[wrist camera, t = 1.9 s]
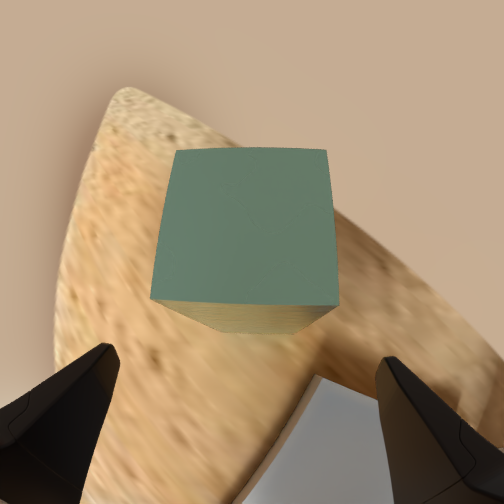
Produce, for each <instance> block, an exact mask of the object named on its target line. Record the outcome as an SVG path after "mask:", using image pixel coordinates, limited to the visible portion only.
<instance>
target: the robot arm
mask: <svg viewBox="0 0 504 504" xmlns="http://www.w3.org/2000/svg"><path fill="white" fill-rule="evenodd" d="M119 368H120V360H119V357H118V355H117V352H116V350H115V348H114V346H113V345H112V344H109V343H101V344H99V345H98V346H96V347H94V348H93V349H91V350H90V351H88V352H87V353H85V354H84V355H82V356H81V357H79V358H78V359H76V360H75V361H73V362H72V363H70V364H69V365H67V366H66V367H64V368H63V369H61V370H60V371H58V372H57V373H55V374H54V375H52V376H51V377H49V378H48V379H46V380H45V381H43V382H42V383H41V384H39V385H38V386H36V387H35V388H33V389H32V390H31V391H28V392H27V393H26V394H24V395H23V396H21V397H19V398H18V399H16V400H15V401H13V402H11V403H10V404H8V405H6V406H4V407H2V408H1V409H0V504H79V503H80V500H81V496H82V491H83V487H84V484H85V480H86V477H87V473H88V470H89V466H90V463H91V460H92V456H93V453H94V450H95V447H96V444H97V440H98V437H99V434H100V431H101V428H102V425H103V423H104V420H105V417H106V414H107V411H108V408H109V405H110V402H111V399H112V395H113V391H114V387H115V383H116V379H117V376H118V372H119ZM375 381H376V389H377V398H378V408H379V417H380V423H381V428H382V433H383V438H384V443H385V449H386V454H387V460H388V466H389V472H390V479H391V485H392V493H393V501H394V504H504V453H503V452H502V451H501V450H499V449H498V448H497V447H495V446H494V445H493V444H491V443H490V442H489V441H487V440H486V439H485V438H484V437H482V436H481V435H480V434H479V433H477V432H476V431H475V430H474V429H473V428H472V427H471V426H470V425H469V424H468V423H466V422H465V421H464V420H463V419H461V417H460V416H459V415H458V414H457V413H456V412H455V411H454V410H453V409H452V408H450V407H449V406H448V405H447V404H446V403H445V402H444V401H443V400H442V399H441V398H440V397H439V396H438V395H437V394H436V393H434V392H433V391H432V390H431V389H430V388H429V387H428V386H427V385H426V384H425V383H424V382H423V381H422V380H420V379H419V378H418V377H417V376H416V375H415V374H414V373H413V372H412V371H411V370H410V369H408V368H407V367H406V366H405V365H404V364H403V363H402V362H401V361H400V360H399V359H398V358H396V357H395V356H389V357H384V358H383V359H382V360H381V363H380V365H379V367H378V370H377V372H376V376H375Z"/></svg>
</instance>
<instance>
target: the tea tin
mask: <svg viewBox="0 0 504 504" xmlns="http://www.w3.org/2000/svg"><path fill="white" fill-rule="evenodd" d="M150 299H151V300H153V301H155V302H157V303H159V304H161V305H163V306H165V307H167V308H170V309H172V310H174V311H176V312H178V313H180V314H182V315H184V316H187V317H189V318H191V319H193V320H195V321H197V322H200V323H202V324H204V325H206V326H209V327H211V328H213V329H216V330H218V331H220V332H225V333H247V334H291V335H293V334H295V333H297V332H298V331H300V330H301V329H303V328H305V327H306V326H308V325H310V324H311V323H313V322H314V321H316V320H317V319H319V318H321V317H322V316H324V315H325V314H327V313H328V312H330V311H331V310H333V309H334V308H336V307H337V306H339V283H338V262H337V246H336V233H335V221H334V210H333V200H332V191H331V183H330V174H329V166H328V159H327V152H326V150H321V149H301V148H261V147H257V148H255V147H253V148H252V147H250V148H209V149H190V150H176V154H175V158H174V162H173V166H172V171H171V175H170V180H169V184H168V189H167V194H166V199H165V204H164V209H163V215H162V220H161V226H160V231H159V237H158V243H157V250H156V256H155V263H154V270H153V278H152V286H151V294H150Z"/></svg>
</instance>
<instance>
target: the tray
mask: <svg viewBox="0 0 504 504" xmlns="http://www.w3.org/2000/svg"><path fill="white" fill-rule="evenodd" d="M231 504H394V501H393V493H392V485H391V479H390V472H389V466H388V460H387V454H386V449H385V443H384V438H383V433H382V428H381V423H380V417H379V408H378V400H376V399H373V398H371V397H368V396H366V395H363V394H361V393H358V392H356V391H353V390H351V389H349V388H346V387H344V386H342V385H339V384H337V383H335V382H332V381H330V380H328V379H325V378H323V377H321V376H319V375H317V374H314V376H313V378H312V379H311V381H310V383H309V385H308V387H307V389H306V391H305V392H304V394H303V396H302V398H301V399H300V401H299V403H298V405H297V406H296V408H295V410H294V412H293V413H292V415H291V417H290V418H289V420H288V422H287V423H286V425H285V427H284V428H283V430H282V431H281V433H280V435H279V436H278V438H277V439H276V441H275V443H274V444H273V446H272V447H271V449H270V450H269V452H268V453H267V455H266V456H265V458H264V459H263V461H262V462H261V464H260V465H259V467H258V468H257V469H256V471H255V472H254V474H253V475H252V476H251V478H250V479H249V481H248V482H247V483H246V485H245V486H244V487H243V489H242V490H241V491H240V493H239V494H238V495H237V497H236V498H235V499H234V501H233V502H232V503H231Z"/></svg>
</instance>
